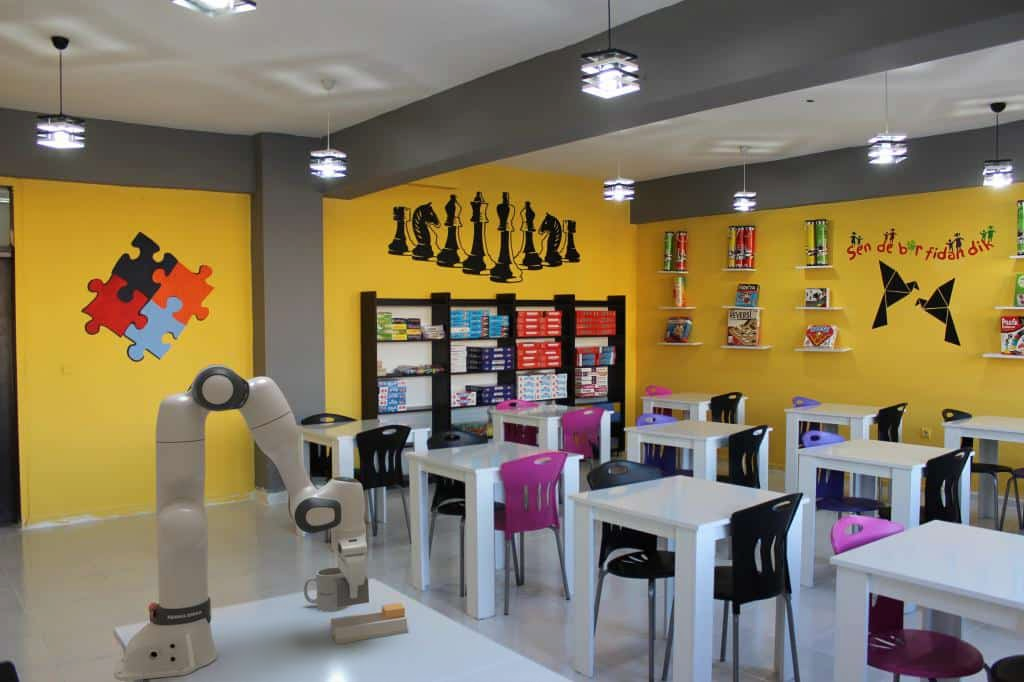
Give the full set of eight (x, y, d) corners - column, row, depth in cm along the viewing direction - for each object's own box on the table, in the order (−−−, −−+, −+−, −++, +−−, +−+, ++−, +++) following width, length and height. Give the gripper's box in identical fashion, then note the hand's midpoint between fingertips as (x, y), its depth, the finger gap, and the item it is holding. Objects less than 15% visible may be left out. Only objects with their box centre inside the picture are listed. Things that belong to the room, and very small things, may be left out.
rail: (336, 643, 202) (336, 621, 202) (330, 630, 211) (330, 609, 211) (407, 632, 208) (407, 611, 208) (398, 620, 218) (398, 599, 218)
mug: (353, 602, 234) (352, 567, 234) (340, 612, 226) (338, 576, 226) (314, 600, 237) (313, 566, 237) (299, 610, 229) (298, 574, 229)
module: (337, 607, 205) (336, 583, 205) (334, 601, 209) (333, 578, 209) (369, 602, 207) (368, 579, 207) (365, 596, 212) (364, 573, 212)
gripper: (330, 533, 217) (332, 584, 217) (343, 550, 198) (345, 607, 198) (354, 530, 219) (356, 581, 219) (368, 547, 200) (371, 603, 200)
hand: (351, 593), depth 208 cm, fingers closed on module, 5 cm apart
